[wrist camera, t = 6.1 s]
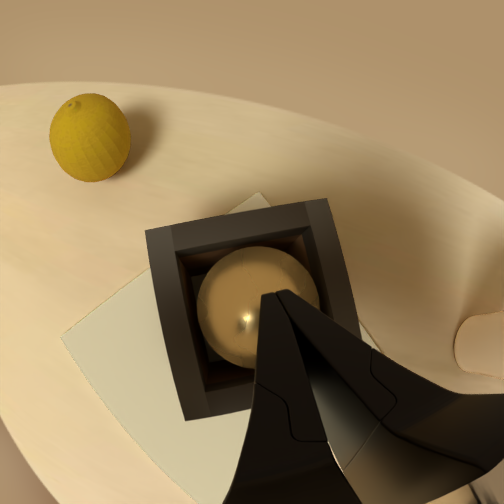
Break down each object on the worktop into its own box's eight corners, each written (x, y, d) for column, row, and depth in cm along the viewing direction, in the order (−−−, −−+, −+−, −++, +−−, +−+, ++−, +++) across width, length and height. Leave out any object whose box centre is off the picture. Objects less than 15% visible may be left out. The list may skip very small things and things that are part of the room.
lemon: (111, 126, 22) (82, 61, 14) (154, 158, 22) (132, 91, 14) (65, 173, 21) (18, 121, 13) (105, 212, 21) (58, 162, 13)
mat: (397, 379, 20) (399, 379, 20) (215, 515, 16) (215, 518, 16) (258, 193, 22) (259, 191, 22) (62, 337, 18) (59, 337, 18)
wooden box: (311, 353, 20) (368, 372, 12) (197, 380, 19) (185, 421, 11) (285, 242, 22) (326, 198, 13) (172, 264, 20) (145, 230, 12)
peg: (289, 339, 19) (330, 351, 12) (214, 356, 19) (212, 380, 11) (272, 265, 20) (303, 236, 13) (197, 280, 19) (186, 259, 12)
